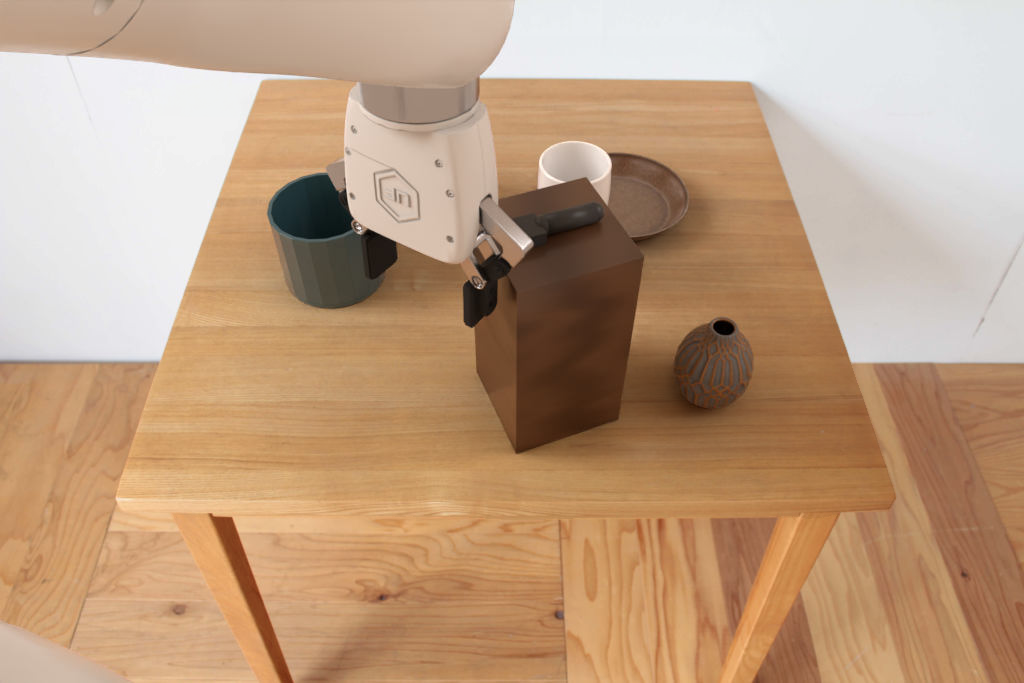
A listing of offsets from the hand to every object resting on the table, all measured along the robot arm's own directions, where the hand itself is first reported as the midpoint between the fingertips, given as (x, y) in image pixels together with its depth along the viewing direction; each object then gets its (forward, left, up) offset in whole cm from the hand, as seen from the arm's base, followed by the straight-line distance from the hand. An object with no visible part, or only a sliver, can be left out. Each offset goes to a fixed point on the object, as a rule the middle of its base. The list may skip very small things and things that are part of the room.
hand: (429, 291), depth 64 cm
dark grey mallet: (+10, -1, +4) cm, 10 cm away
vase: (+24, -6, -17) cm, 30 cm away
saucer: (+28, +20, -17) cm, 38 cm away
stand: (+10, -1, -16) cm, 19 cm away
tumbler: (-4, +22, -16) cm, 28 cm away
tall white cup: (+18, +12, -17) cm, 27 cm away
